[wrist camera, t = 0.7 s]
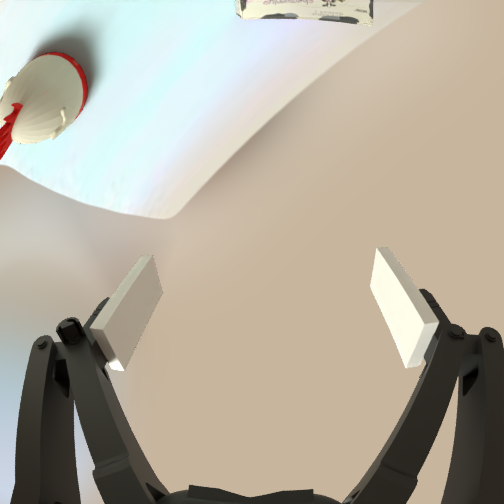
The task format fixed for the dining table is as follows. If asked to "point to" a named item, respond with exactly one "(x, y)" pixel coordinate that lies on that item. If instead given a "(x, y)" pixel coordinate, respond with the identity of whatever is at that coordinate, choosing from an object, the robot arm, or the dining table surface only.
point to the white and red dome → (41, 100)
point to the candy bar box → (308, 10)
